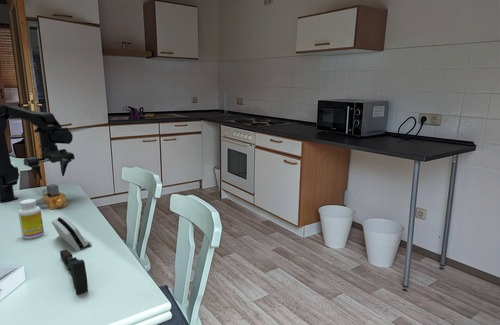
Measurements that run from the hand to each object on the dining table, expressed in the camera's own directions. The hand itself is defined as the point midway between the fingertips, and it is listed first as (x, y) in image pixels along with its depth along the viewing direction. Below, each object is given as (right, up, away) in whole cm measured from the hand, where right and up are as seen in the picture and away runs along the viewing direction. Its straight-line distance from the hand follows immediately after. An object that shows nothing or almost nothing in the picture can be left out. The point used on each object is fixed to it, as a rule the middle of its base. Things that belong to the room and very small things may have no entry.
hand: (52, 178), depth 155 cm
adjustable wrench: (+36, -25, -54) cm, 70 cm away
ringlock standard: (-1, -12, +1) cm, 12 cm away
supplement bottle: (+10, -19, -30) cm, 37 cm away
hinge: (+26, -21, -35) cm, 48 cm away
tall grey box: (+1, -11, -1) cm, 11 cm away
